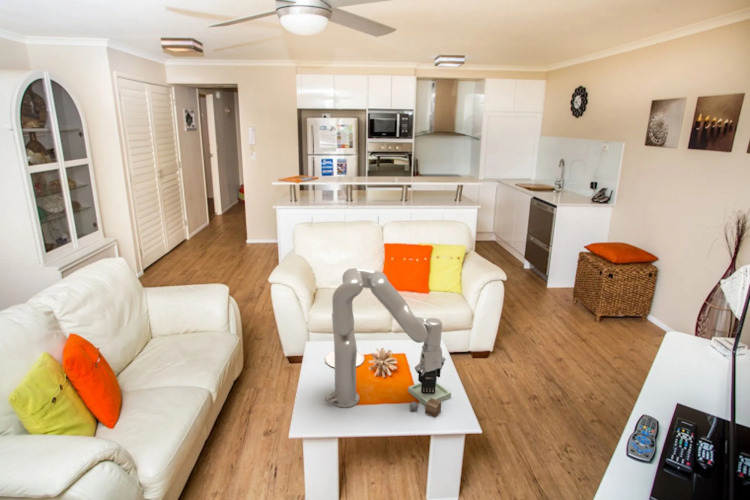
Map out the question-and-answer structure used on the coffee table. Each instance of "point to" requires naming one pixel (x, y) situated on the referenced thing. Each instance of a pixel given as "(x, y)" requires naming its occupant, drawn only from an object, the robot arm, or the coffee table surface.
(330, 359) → the plate
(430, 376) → the battery
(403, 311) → the robot arm
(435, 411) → the block
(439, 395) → the tray
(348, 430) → the coffee table surface
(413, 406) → the ball
